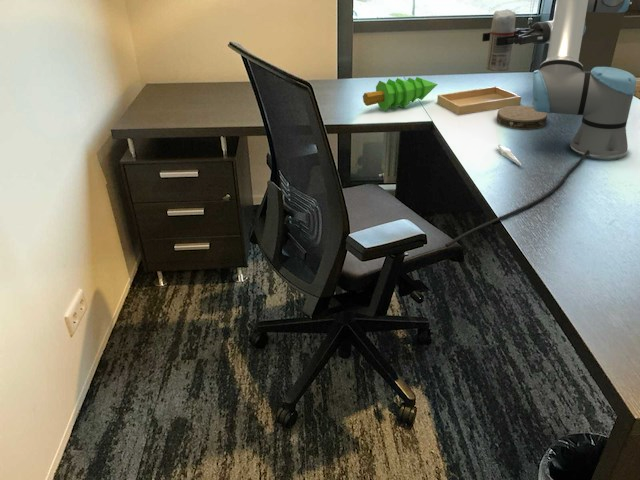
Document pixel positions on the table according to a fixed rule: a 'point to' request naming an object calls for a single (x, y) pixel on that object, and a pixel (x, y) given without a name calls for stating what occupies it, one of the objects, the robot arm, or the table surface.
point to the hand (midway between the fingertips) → (490, 39)
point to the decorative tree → (398, 92)
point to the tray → (478, 100)
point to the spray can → (500, 28)
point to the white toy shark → (508, 154)
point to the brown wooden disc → (521, 117)
